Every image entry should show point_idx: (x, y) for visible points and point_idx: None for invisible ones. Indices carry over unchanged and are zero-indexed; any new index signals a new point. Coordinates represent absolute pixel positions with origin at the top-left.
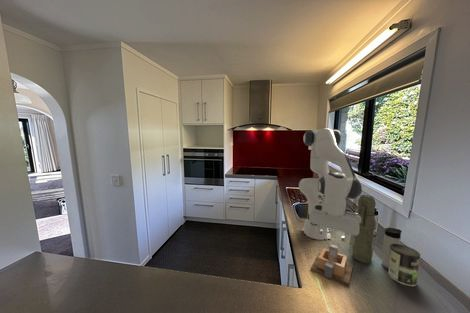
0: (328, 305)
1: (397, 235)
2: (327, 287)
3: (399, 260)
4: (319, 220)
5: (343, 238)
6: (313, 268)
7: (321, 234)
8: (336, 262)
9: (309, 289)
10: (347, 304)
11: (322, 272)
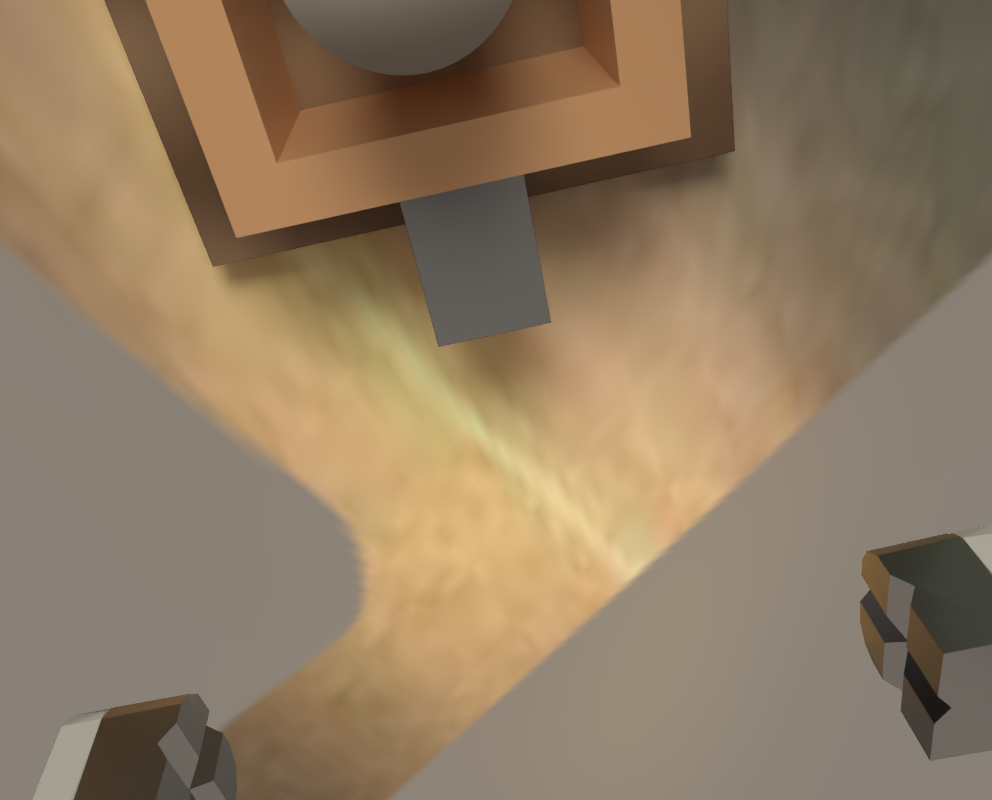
0: (626, 551)
1: None
2: (531, 363)
3: None
4: None
5: (983, 733)
6: (252, 256)
7: (218, 773)
8: None
9: (417, 529)
10: (757, 416)
11: (383, 227)
